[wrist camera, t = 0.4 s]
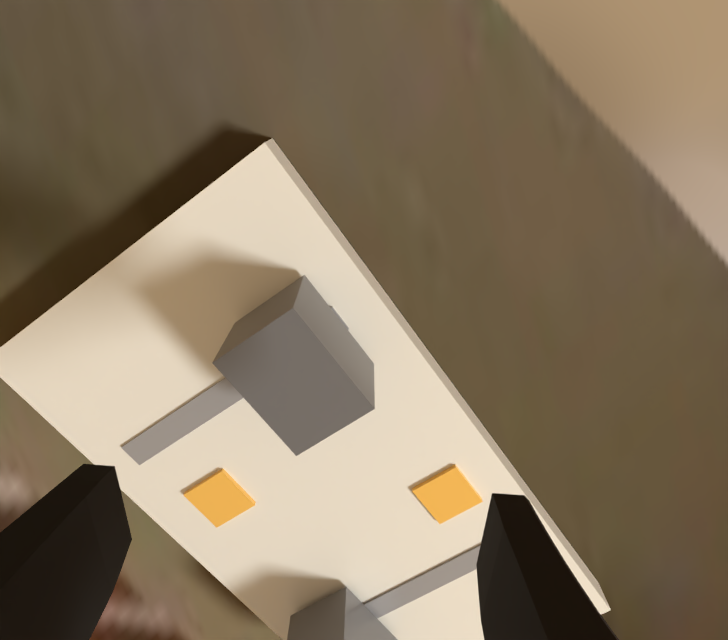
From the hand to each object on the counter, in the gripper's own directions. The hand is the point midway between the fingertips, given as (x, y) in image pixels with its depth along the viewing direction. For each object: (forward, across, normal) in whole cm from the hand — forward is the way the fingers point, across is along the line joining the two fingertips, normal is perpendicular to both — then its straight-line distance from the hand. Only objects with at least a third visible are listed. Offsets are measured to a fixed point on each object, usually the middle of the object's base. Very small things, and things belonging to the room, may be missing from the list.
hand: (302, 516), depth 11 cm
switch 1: (+9, +1, +2) cm, 9 cm away
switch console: (+10, 0, +9) cm, 13 cm away
